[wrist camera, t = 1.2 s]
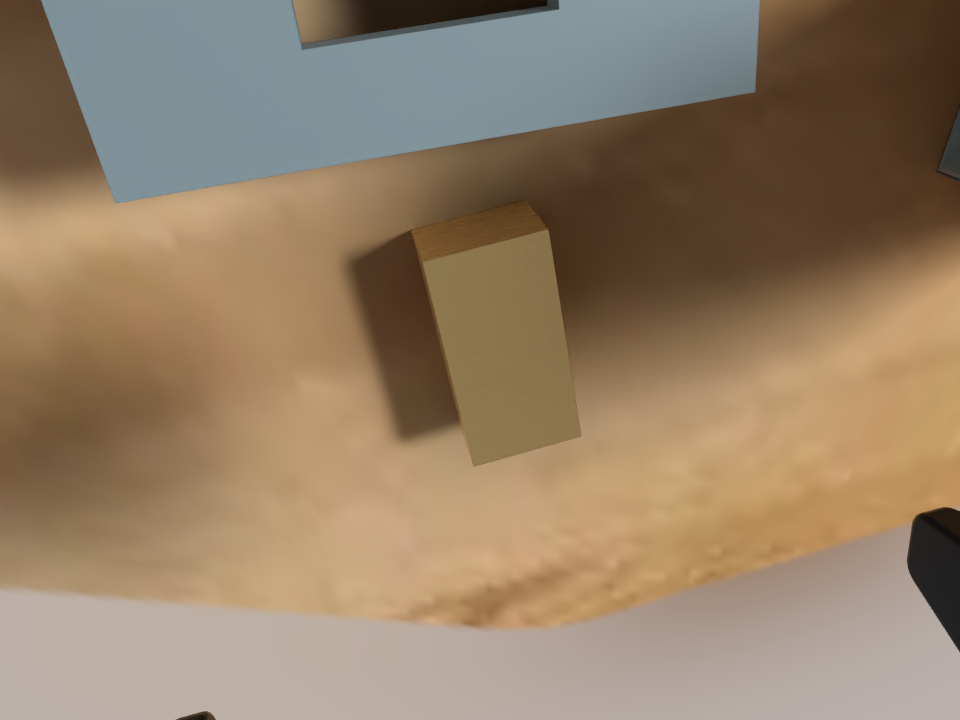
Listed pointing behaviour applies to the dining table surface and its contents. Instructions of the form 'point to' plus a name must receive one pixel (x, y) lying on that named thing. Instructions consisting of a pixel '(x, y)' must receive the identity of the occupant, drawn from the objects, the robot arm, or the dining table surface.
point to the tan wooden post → (500, 329)
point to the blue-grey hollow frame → (372, 80)
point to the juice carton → (952, 153)
